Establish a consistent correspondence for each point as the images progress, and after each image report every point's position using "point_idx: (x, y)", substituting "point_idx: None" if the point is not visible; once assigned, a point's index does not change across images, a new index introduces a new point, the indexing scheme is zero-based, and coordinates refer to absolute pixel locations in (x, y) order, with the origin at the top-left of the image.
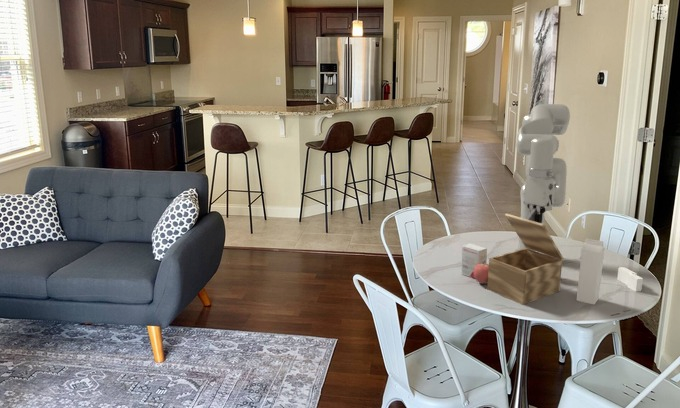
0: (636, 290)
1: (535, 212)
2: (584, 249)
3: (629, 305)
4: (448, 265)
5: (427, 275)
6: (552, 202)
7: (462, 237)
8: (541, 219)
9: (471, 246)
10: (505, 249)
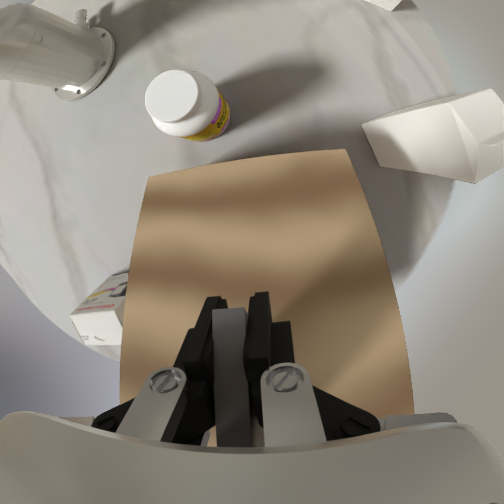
0: (391, 9)
1: (256, 435)
2: (481, 177)
3: (441, 90)
4: (74, 291)
5: (116, 356)
6: (479, 482)
7: None
8: (292, 342)
9: (92, 332)
10: (37, 102)
